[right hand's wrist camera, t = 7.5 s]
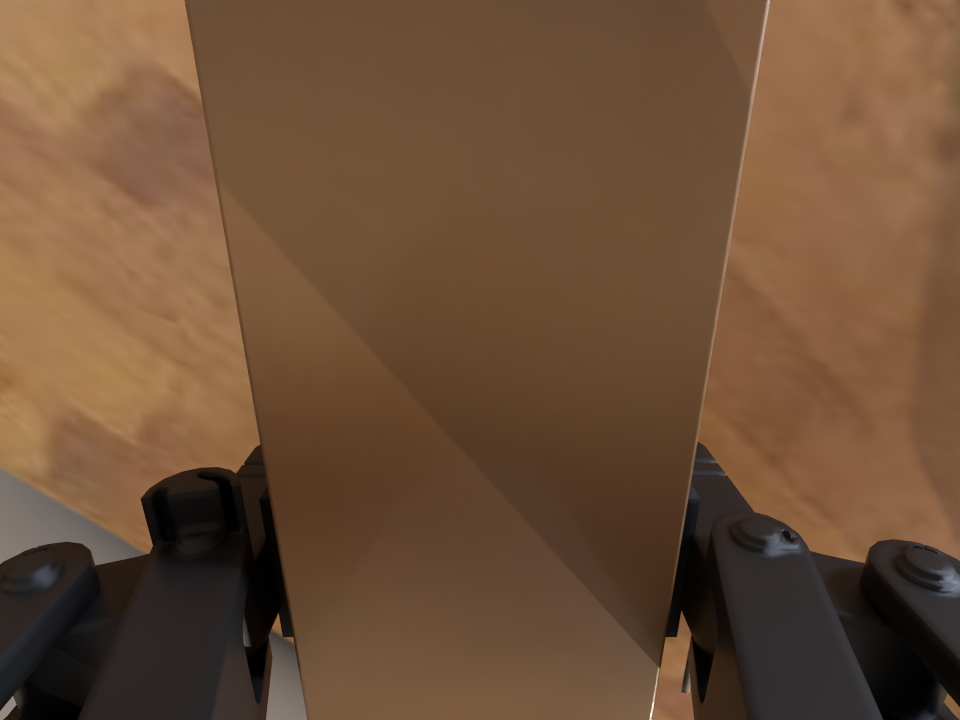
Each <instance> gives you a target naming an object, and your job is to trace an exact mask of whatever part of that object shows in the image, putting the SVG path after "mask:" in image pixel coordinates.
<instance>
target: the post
mask: <svg viewBox="0 0 960 720" xmlns="http://www.w3.org/2000/svg"><path fill="white" fill-rule="evenodd" d="M185 4H186V10H187V16H188V22H189V28H190V34H191V39H192V45H193V51H194V57H195V63H196V69H197V75H198V80H199V86H200V92H201V98H202V104H203V110H204V116H205V121H206V127H207V133H208V139H209V145H210V151H211V157H212V163H213V168H214V174H215V180H216V186H217V192H218V198H219V204H220V209H221V215H222V221H223V227H224V233H225V239H226V245H227V250H228V256H229V262H230V268H231V274H232V280H233V286H234V291H235V297H236V303H237V309H238V315H239V321H240V327H241V333H242V338H243V344H244V350H245V356H246V362H247V368H248V374H249V379H250V385H251V391H252V397H253V403H254V409H255V415H256V420H257V426H258V432H259V438H260V444H261V450H262V456H263V462H264V467H265V473H266V479H267V485H268V491H269V497H270V503H271V508H272V514H273V520H274V526H275V532H276V538H277V544H278V549H279V555H280V561H281V567H282V573H283V579H284V585H285V590H286V596H287V602H288V608H289V614H290V620H291V626H292V632H293V637H294V643H295V649H296V655H297V661H298V667H299V673H300V678H301V684H302V690H303V696H304V702H305V708H306V714H307V719H308V720H652V716H653V710H654V704H655V698H656V692H657V685H658V679H659V673H660V667H661V661H662V655H663V649H664V643H665V637H666V631H667V625H668V619H669V612H670V606H671V600H672V594H673V588H674V582H675V576H676V570H677V564H678V558H679V552H680V545H681V539H682V533H683V527H684V521H685V515H686V509H687V503H688V497H689V491H690V485H691V478H692V472H693V466H694V460H695V454H696V448H697V442H698V436H699V430H700V424H701V418H702V412H703V405H704V399H705V393H706V387H707V381H708V375H709V369H710V363H711V357H712V351H713V345H714V338H715V332H716V326H717V320H718V314H719V308H720V302H721V296H722V290H723V284H724V278H725V271H726V265H727V259H728V253H729V247H730V241H731V235H732V229H733V223H734V217H735V211H736V205H737V198H738V192H739V186H740V180H741V174H742V168H743V162H744V156H745V150H746V144H747V138H748V131H749V125H750V119H751V113H752V107H753V101H754V95H755V89H756V83H757V77H758V71H759V65H760V58H761V52H762V46H763V40H764V34H765V28H766V22H767V16H768V10H769V4H770V0H185Z"/></svg>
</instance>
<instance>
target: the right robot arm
mask: <svg viewBox="0 0 960 720" xmlns="http://www.w3.org/2000/svg"><path fill="white" fill-rule="evenodd" d="M141 502H142V506H143V510H144V514H145V517H146V521H147V525H148V529H149V532H150V536H151V540H152V544H153V547H152V550H151V552H150V554H146V555H142V556H139V557H134V558H130V559H125V560H120V561H115V562H111V563H106V564H101V565H96V566H95V563H94V560H93V557H92V554H91V551H90V550H89V549H88V548H87V547H85V546H84V545H83V544H79V543H72V542H61V543H54V544H47V545H43V546H38V547H37V548H32V549H29V550H26V551H24V552H22V553H21V554H19V555H17V556H15V557H12V558H10V559H8V560H6V561H4V562H3V563H1V564H0V710H1V709H2V708H3V707H4V706H5V704H6V703H7V702H8V701H9V700H10V698H11V697H12V696H13V697H14V699H15V702H16V704H17V705H16V706H15V707H14V709H13V710H12V711H11V712H10V714H9V715H8V716H7V717H6V718H5V719H4V720H266V713H267V704H268V694H269V685H270V675H271V666H272V653H271V646H270V641H269V633H270V631H271V628H272V626H273V624H274V621H275V619H276V617H277V615H278V612H279V617H280V623H281V629H282V634H283V637H293V632H292V626H291V620H290V614H289V608H288V602H287V596H286V590H285V585H284V579H283V573H282V567H281V561H280V555H279V549H278V544H277V538H276V532H275V526H274V520H273V514H272V508H271V503H270V497H269V491H268V485H267V479H266V473H265V467H264V462H263V456H262V450H261V444H260V445H259V446H257V447H256V448H255V449H254V450H253V452H252V453H251V454H250V456H249V457H248V458H247V460H246V461H245V462H244V465H242V466H241V468H240V469H239V470H238V472H237V473H236V474H235V473H234V472H233V471H231V470H228V469H223V468H219V467H210V468H198V469H193V470H188V471H184V472H180V473H178V474H175V475H173V476H170V477H168V478H165V479H163V480H162V481H160V482H159V483H157V484H156V485H154V486H152V487H151V488H149V490H148V491H147V492H146V493H145V494H144V495H143V497H142V498H141ZM681 610H682V613H683V615H684V617H685V620H686V622H687V624H688V626H689V629H690V631H691V633H692V635H691V641H690V646H689V651H688V657H687V662H686V668H685V673H684V678H683V684H682V691H681V692H683V693H688V694H689V689H690V684H691V693H692V702H693V712H694V720H959V719H958V718H957V717H956V716H955V715H954V714H953V713H952V712H951V711H950V709H949V708H948V707H947V706H946V705H945V703H944V700H945V698H946V696H947V694H949V695H950V696H951V697H952V698H953V700H954V701H955V702H956V703H957V704H958V706H959V707H960V561H959V560H957V559H955V558H953V557H951V556H949V555H947V554H945V553H943V552H941V551H939V550H938V549H936V548H933V547H930V546H927V545H923V544H920V543H916V542H911V541H903V540H895V539H892V540H885V541H878V542H877V543H876V544H874V545H873V546H872V547H870V549H869V552H868V555H867V559H866V562H865V563H861V562H856V561H851V560H846V559H842V558H837V557H832V556H827V555H823V554H819V553H815V552H812V551H809V549H808V546H807V544H806V543H805V542H804V540H803V539H802V538H801V536H800V535H799V534H798V533H797V532H796V531H794V530H793V529H792V528H790V527H789V526H787V525H786V524H785V523H783V522H780V521H778V520H776V519H774V518H772V517H769V516H767V515H763V514H759V513H755V512H754V511H753V510H752V508H751V507H750V506H749V504H748V503H747V502H746V500H745V499H744V498H743V496H742V495H741V494H740V492H739V491H738V490H737V488H736V487H735V486H734V484H733V483H732V482H731V480H730V479H729V478H728V476H725V472H724V471H723V470H722V468H721V467H720V466H719V464H718V463H716V460H715V459H714V458H713V456H712V455H711V454H710V452H709V451H708V450H707V448H706V447H705V446H704V445H702V444H701V443H699V442H697V448H696V454H695V460H694V466H693V472H692V478H691V485H690V491H689V497H688V503H687V509H686V515H685V521H684V527H683V533H682V539H681V545H680V552H679V558H678V564H677V570H676V576H675V582H674V588H673V594H672V600H671V606H670V612H669V619H668V625H667V631H666V637H677V632H678V627H679V621H680V615H681Z"/></svg>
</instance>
